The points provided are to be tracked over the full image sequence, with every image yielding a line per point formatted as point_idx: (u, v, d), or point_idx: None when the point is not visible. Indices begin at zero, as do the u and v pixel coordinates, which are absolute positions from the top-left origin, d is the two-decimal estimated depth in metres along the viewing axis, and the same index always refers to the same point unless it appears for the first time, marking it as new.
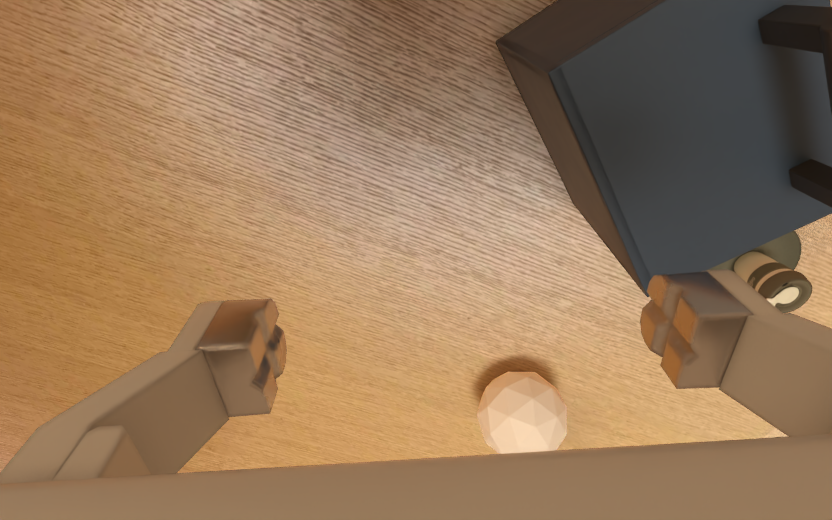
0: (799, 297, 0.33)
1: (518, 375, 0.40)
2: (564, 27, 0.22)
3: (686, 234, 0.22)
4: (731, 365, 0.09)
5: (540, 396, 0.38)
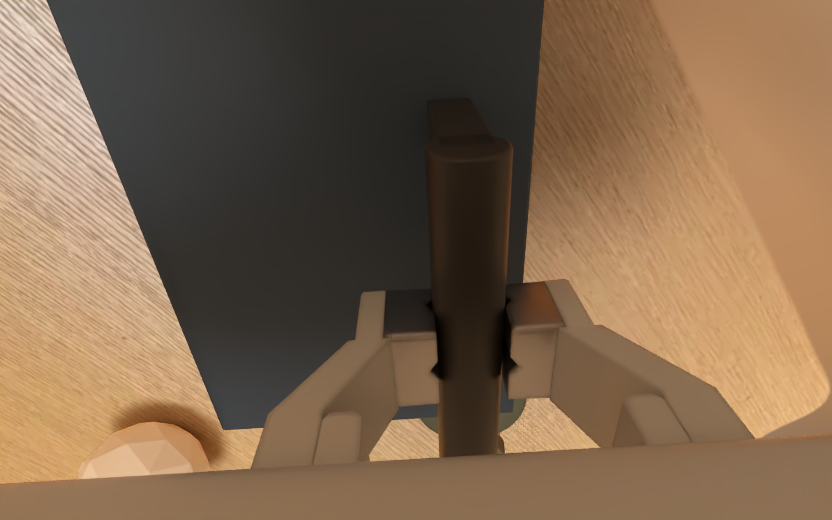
0: None
1: (159, 432, 0.30)
2: None
3: (286, 368, 0.14)
4: (557, 376, 0.09)
5: (163, 472, 0.28)
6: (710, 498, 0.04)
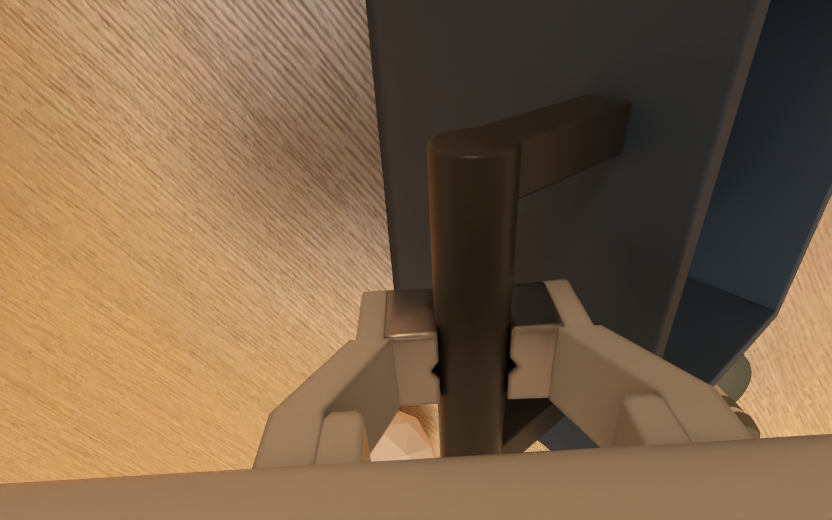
0: None
1: (397, 416, 0.29)
2: None
3: None
4: (557, 376, 0.09)
5: (416, 455, 0.28)
6: (710, 498, 0.04)
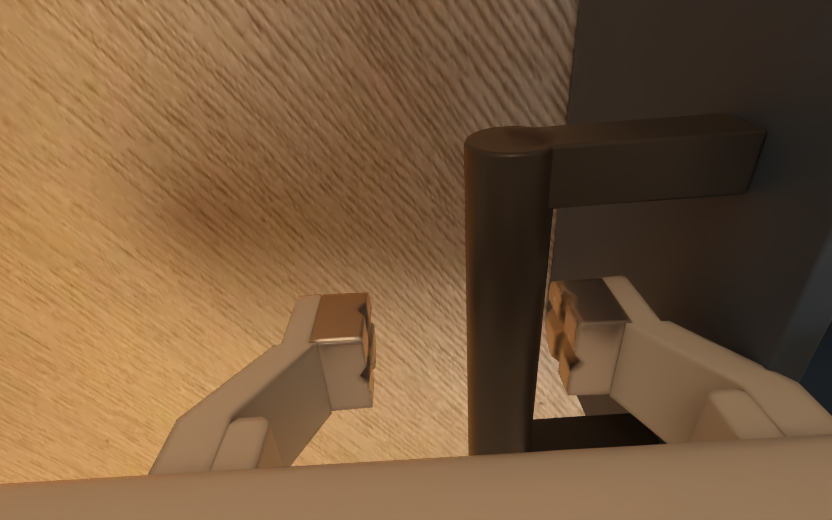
0: None
1: None
2: None
3: None
4: (619, 372, 0.09)
5: None
6: (710, 498, 0.04)
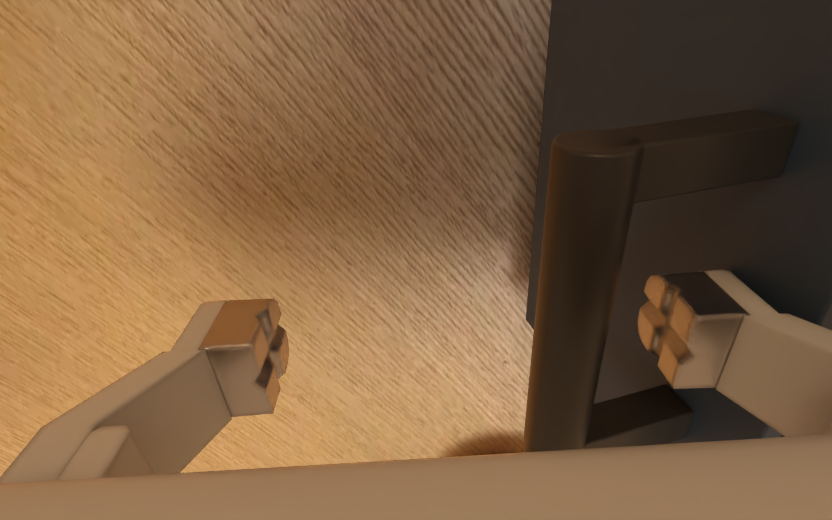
0: None
1: None
2: None
3: None
4: (727, 365, 0.09)
5: None
6: (710, 498, 0.04)
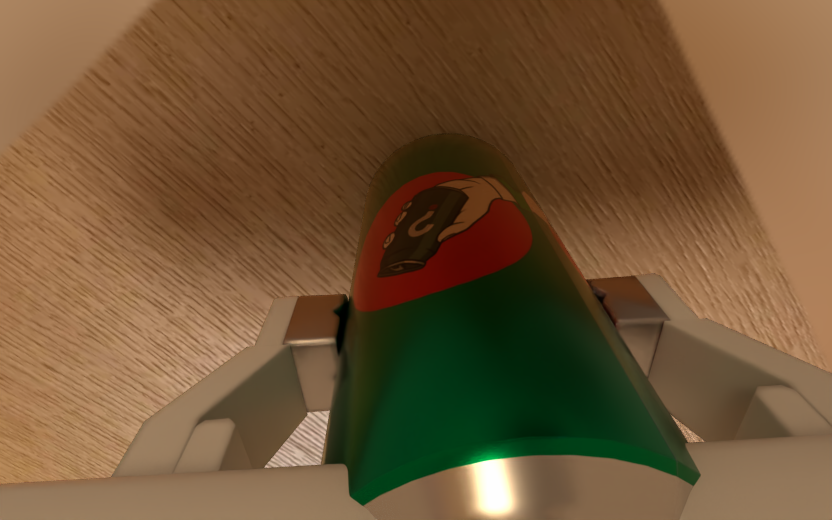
0: None
1: None
2: None
3: None
4: (654, 369, 0.09)
5: None
6: (710, 498, 0.04)
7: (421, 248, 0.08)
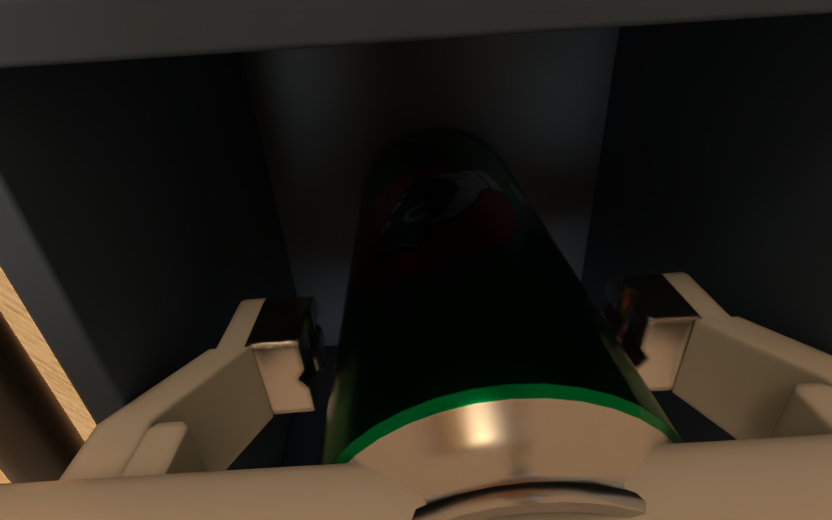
0: None
1: None
2: None
3: None
4: (683, 368, 0.09)
5: None
6: (710, 498, 0.04)
7: (416, 232, 0.08)
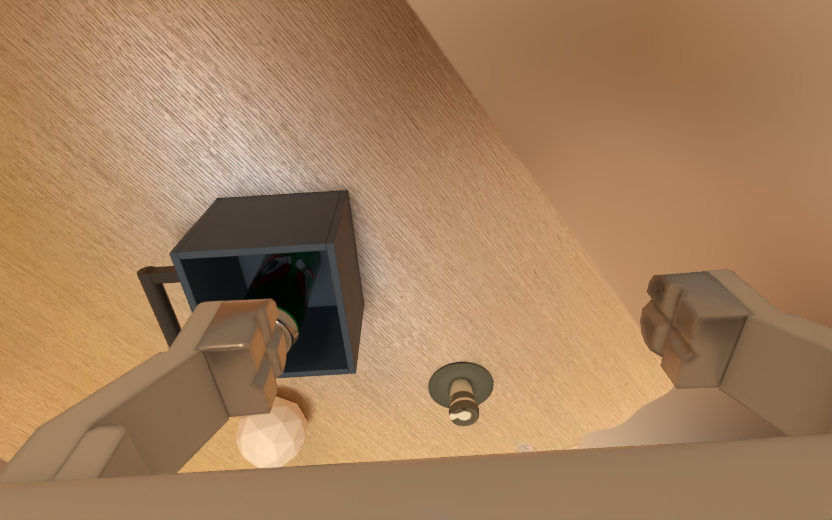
0: (470, 419, 0.51)
1: (282, 402, 0.52)
2: (265, 205, 0.40)
3: None
4: (731, 365, 0.09)
5: (288, 423, 0.50)
6: (710, 498, 0.04)
7: (261, 276, 0.37)
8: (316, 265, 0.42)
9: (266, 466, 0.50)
